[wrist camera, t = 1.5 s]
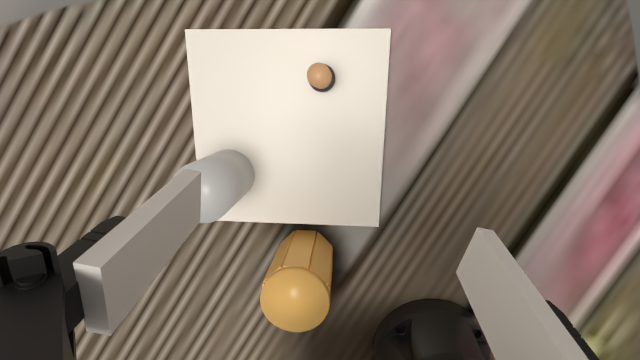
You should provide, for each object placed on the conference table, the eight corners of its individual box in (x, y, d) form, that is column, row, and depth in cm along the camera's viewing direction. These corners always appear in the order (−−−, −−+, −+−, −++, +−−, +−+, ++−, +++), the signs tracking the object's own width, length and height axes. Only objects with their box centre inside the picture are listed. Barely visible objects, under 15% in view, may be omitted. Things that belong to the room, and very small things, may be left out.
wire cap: (332, 280, 42) (328, 334, 32) (280, 277, 43) (261, 329, 33) (333, 231, 40) (329, 273, 31) (279, 229, 41) (258, 269, 31)
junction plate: (377, 222, 40) (387, 259, 30) (206, 215, 41) (167, 249, 32) (388, 31, 34) (405, 6, 25) (191, 32, 36) (138, 9, 26)
